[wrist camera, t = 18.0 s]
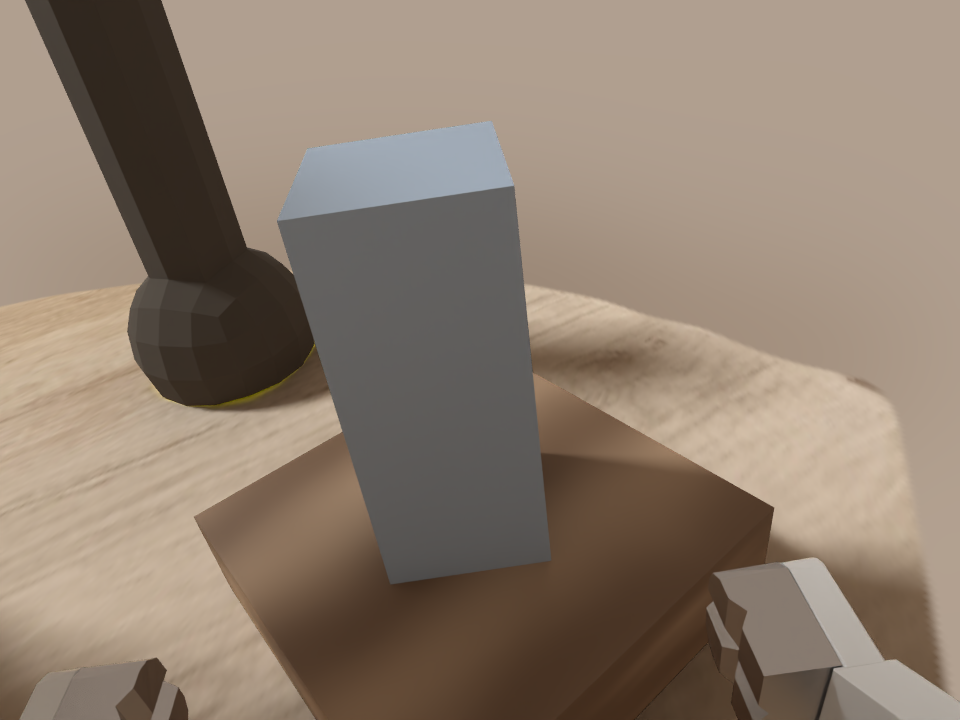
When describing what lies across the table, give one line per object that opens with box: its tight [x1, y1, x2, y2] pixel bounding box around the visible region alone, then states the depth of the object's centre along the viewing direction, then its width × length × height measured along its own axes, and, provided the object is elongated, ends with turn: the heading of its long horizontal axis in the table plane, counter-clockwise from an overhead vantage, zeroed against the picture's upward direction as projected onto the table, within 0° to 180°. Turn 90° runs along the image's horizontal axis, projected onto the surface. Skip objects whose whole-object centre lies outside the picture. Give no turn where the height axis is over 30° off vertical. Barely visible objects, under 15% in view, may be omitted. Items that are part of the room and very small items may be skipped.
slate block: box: [277, 121, 551, 584], centre depth 20 cm, size 5×5×12 cm
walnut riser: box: [194, 373, 774, 720], centre depth 24 cm, size 14×14×4 cm
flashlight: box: [25, 0, 314, 406], centre depth 34 cm, size 10×25×10 cm
